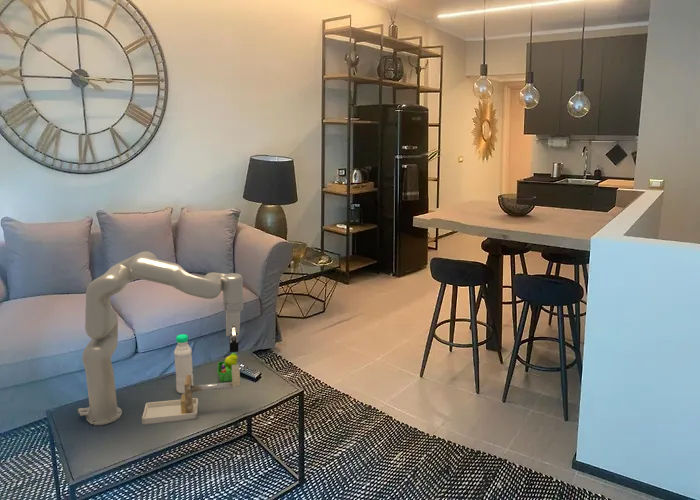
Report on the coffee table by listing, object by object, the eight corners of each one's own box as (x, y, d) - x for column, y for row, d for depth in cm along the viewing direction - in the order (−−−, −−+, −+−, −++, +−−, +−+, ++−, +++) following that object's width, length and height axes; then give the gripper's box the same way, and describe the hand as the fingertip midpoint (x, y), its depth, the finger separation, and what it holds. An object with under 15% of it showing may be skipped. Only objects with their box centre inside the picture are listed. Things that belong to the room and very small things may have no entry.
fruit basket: (218, 372, 246) (217, 349, 243) (238, 370, 248) (237, 347, 245) (217, 383, 235) (216, 360, 233) (238, 382, 237) (237, 358, 234)
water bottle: (188, 395, 225) (185, 339, 219) (173, 393, 226) (169, 338, 220) (196, 387, 232) (193, 333, 226) (181, 385, 233) (178, 331, 227)
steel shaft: (189, 393, 209) (188, 372, 207) (189, 389, 212) (188, 368, 209) (240, 388, 213) (239, 367, 211) (240, 385, 216) (239, 364, 214)
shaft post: (186, 416, 208) (184, 384, 205) (187, 405, 216) (185, 375, 212) (191, 415, 209) (189, 384, 205) (192, 405, 216) (191, 374, 213)
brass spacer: (181, 415, 209) (180, 401, 207) (182, 407, 214) (182, 394, 213) (185, 415, 209) (184, 401, 208) (187, 407, 215) (186, 393, 213)
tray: (142, 424, 203) (141, 418, 202) (146, 408, 214) (146, 402, 214) (196, 419, 207) (196, 413, 207) (198, 403, 219) (198, 397, 218)
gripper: (223, 298, 213) (224, 338, 217) (223, 313, 197) (224, 356, 201) (242, 297, 215) (243, 337, 219) (243, 312, 198) (244, 355, 203)
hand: (233, 346), depth 210 cm, fingers open, 9 cm apart
